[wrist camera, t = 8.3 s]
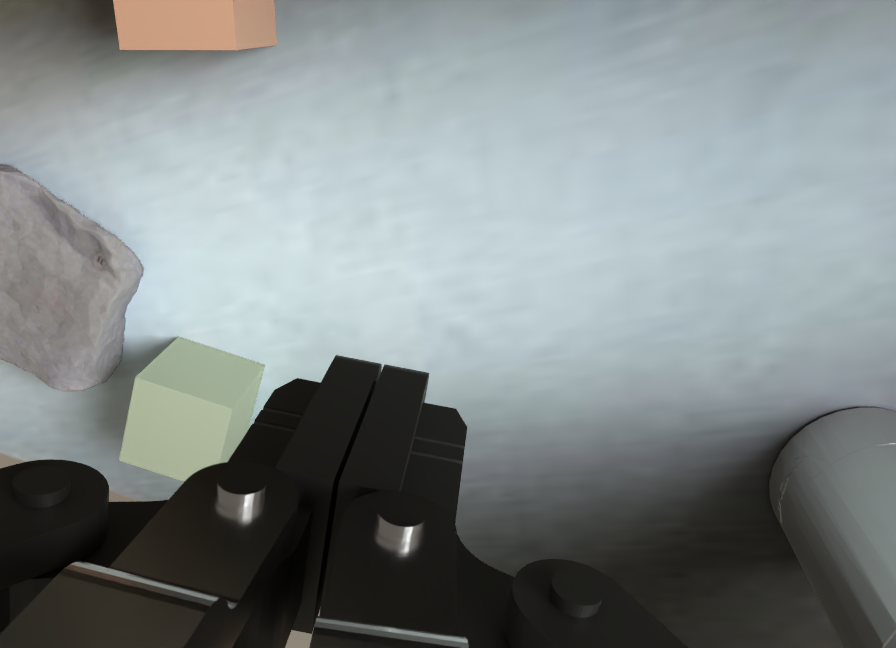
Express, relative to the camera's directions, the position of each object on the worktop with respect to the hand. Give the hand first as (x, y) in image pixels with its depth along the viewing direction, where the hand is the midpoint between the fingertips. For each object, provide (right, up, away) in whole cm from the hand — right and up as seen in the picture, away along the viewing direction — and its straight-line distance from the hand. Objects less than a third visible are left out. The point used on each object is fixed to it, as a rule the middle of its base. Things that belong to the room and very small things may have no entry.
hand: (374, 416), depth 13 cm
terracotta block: (-10, +17, +26) cm, 32 cm away
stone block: (-21, +5, +32) cm, 38 cm away
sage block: (-12, -2, +33) cm, 35 cm away
